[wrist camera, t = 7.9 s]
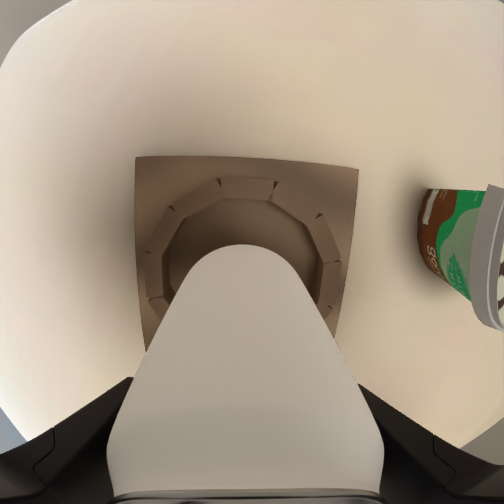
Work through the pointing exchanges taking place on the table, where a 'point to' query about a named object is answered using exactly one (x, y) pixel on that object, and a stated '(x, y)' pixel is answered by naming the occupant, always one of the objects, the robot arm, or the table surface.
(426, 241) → the food container
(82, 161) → the table surface
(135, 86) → the table surface
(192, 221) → the brown ring stand base
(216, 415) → the can
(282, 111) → the table surface
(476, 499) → the robot arm
